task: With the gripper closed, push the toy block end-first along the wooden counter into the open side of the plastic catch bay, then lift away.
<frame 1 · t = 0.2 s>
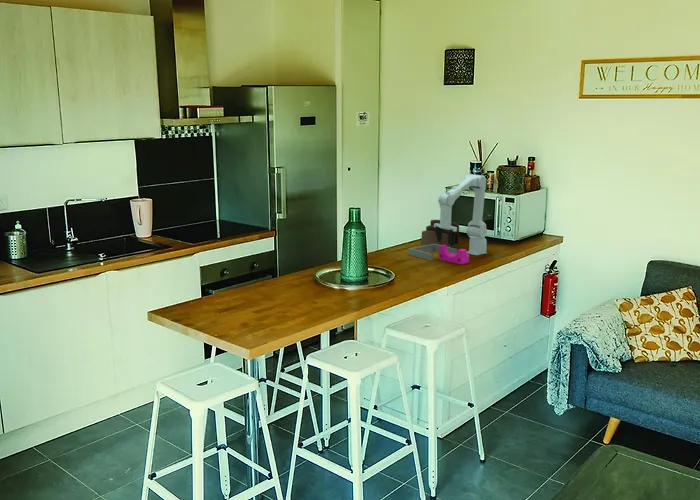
hand: (444, 242, 356), 10 cm above the breakfast bar, tool pointing down, fingers open, 7 cm apart
toy block: (453, 261, 360), on the breakfast bar
letter holder: (439, 245, 397), on the breakfast bar
catch bay: (432, 255, 372), on the breakfast bar
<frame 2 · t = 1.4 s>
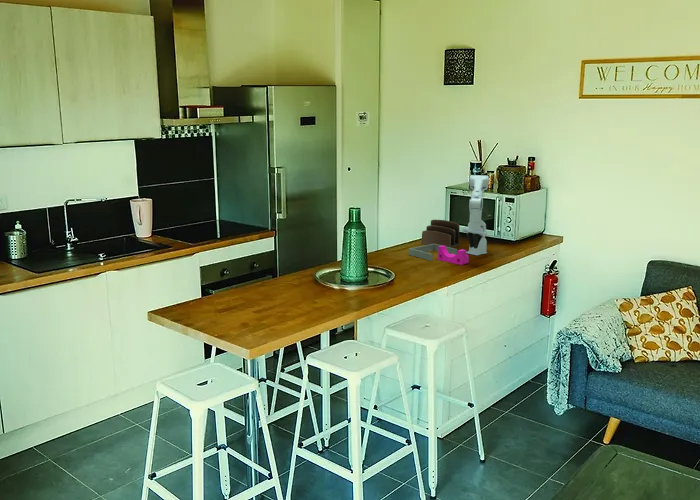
hand: (473, 247, 348), 9 cm above the breakfast bar, tool pointing down, fingers closed
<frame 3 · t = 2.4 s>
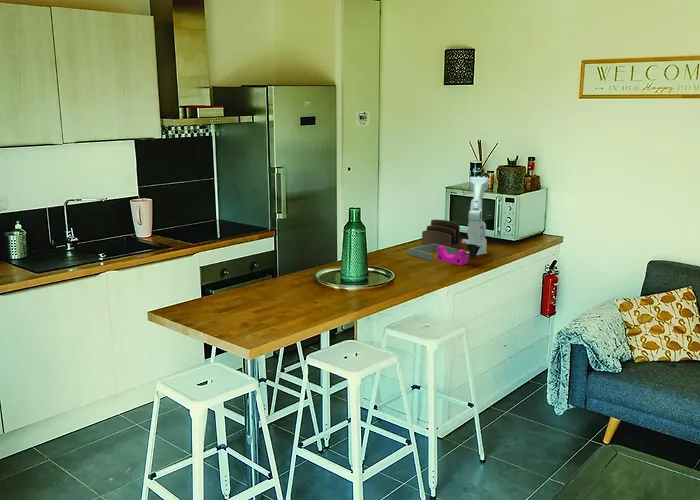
hand: (472, 259, 349), 3 cm above the breakfast bar, tool pointing down, fingers closed
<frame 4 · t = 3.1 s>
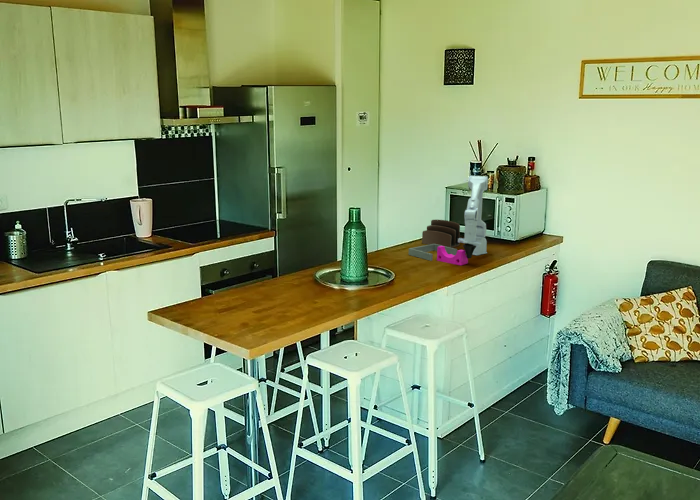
hand: (469, 258, 351), 3 cm above the breakfast bar, tool pointing down, fingers closed
toy block: (452, 262, 358), on the breakfast bar, touching gripper
everything else where it was.
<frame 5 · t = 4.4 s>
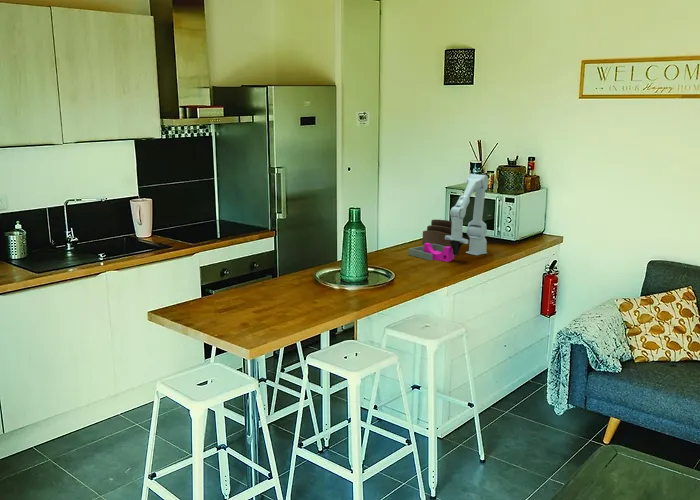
hand: (455, 254, 358), 3 cm above the breakfast bar, tool pointing down, fingers closed
toy block: (438, 258, 364), on the breakfast bar, touching gripper
everything else where it was.
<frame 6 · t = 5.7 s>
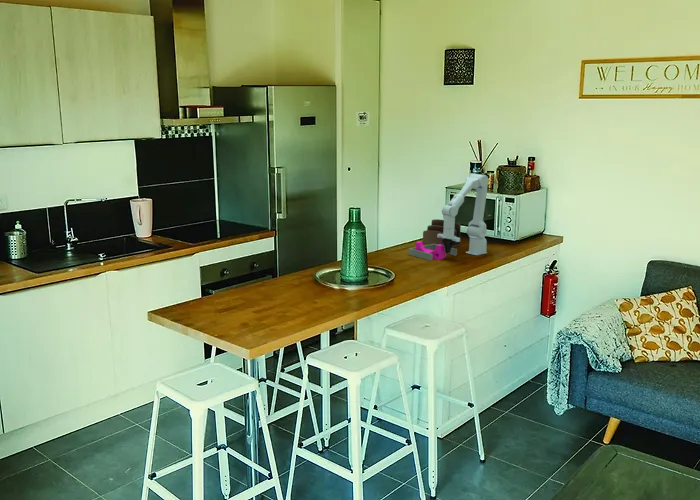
hand: (447, 252, 363), 3 cm above the breakfast bar, tool pointing down, fingers closed
toy block: (430, 257, 368), on the breakfast bar, touching gripper
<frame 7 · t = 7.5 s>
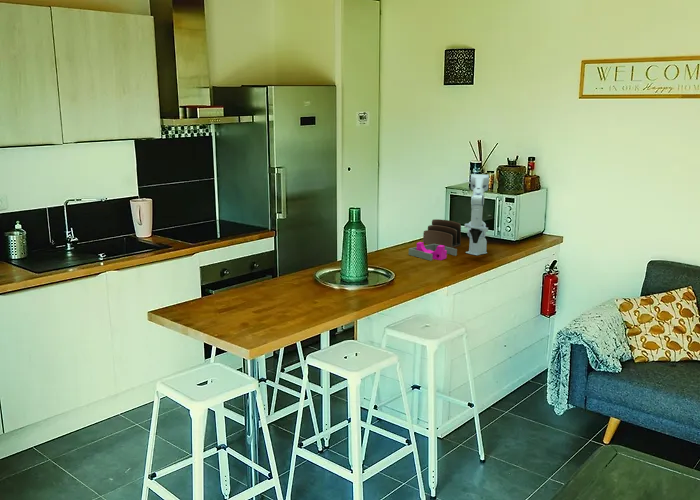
hand: (475, 242, 359), 9 cm above the breakfast bar, tool pointing down, fingers closed
toy block: (431, 257, 367), on the breakfast bar
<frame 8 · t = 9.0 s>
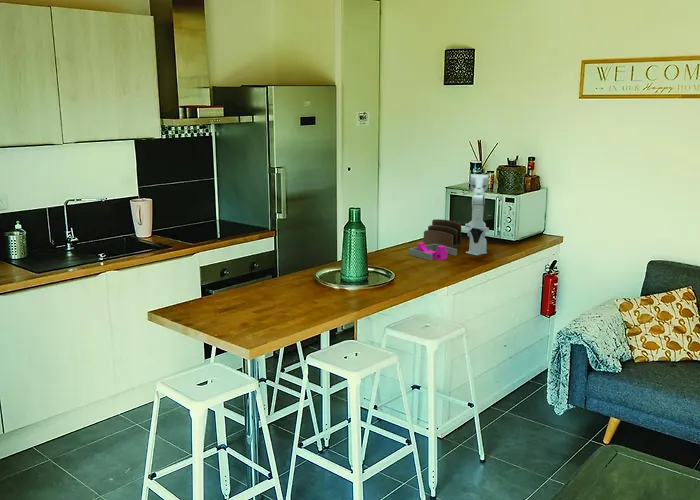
hand: (476, 242, 359), 9 cm above the breakfast bar, tool pointing down, fingers closed
at the end: toy block inside the target area (4.9 cm from its centre), on the breakfast bar; toy block tilted 0° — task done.
